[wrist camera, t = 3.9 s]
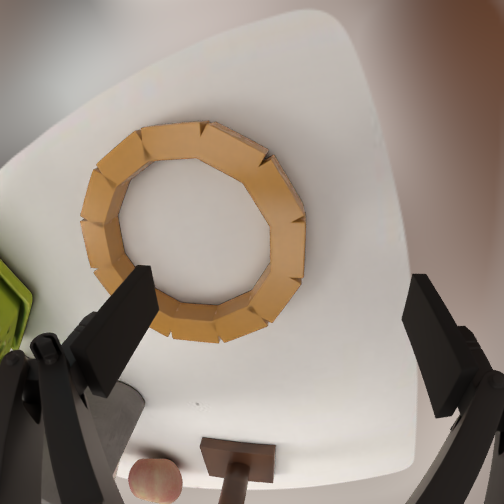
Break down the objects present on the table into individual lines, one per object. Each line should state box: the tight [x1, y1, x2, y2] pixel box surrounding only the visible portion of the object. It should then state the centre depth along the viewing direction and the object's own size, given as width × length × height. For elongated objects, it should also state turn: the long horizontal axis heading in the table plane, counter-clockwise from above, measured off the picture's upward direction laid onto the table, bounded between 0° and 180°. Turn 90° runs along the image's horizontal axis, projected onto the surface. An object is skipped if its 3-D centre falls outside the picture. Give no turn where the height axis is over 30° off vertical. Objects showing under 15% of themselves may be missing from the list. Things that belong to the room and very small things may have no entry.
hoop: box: [80, 120, 306, 343], centre depth 22 cm, size 16×16×2 cm
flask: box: [41, 381, 145, 504], centre depth 25 cm, size 15×6×20 cm, turn 105°
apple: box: [128, 459, 183, 504], centre depth 36 cm, size 8×8×8 cm
